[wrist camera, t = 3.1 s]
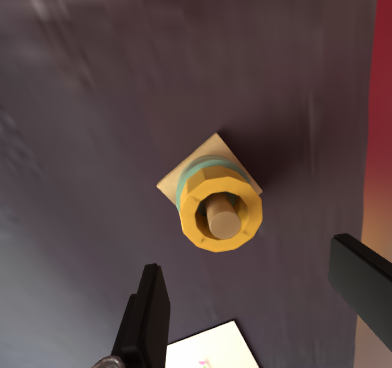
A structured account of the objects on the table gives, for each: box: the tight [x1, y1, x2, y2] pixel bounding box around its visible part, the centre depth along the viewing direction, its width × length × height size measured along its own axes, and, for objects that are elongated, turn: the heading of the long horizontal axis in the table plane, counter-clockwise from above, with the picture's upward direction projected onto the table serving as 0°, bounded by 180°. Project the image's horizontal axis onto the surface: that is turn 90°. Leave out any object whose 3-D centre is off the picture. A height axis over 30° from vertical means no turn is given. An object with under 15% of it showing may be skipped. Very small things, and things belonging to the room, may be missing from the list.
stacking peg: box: [157, 133, 263, 239], centre depth 19 cm, size 9×9×9 cm
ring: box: [180, 165, 262, 252], centre depth 18 cm, size 7×7×4 cm
